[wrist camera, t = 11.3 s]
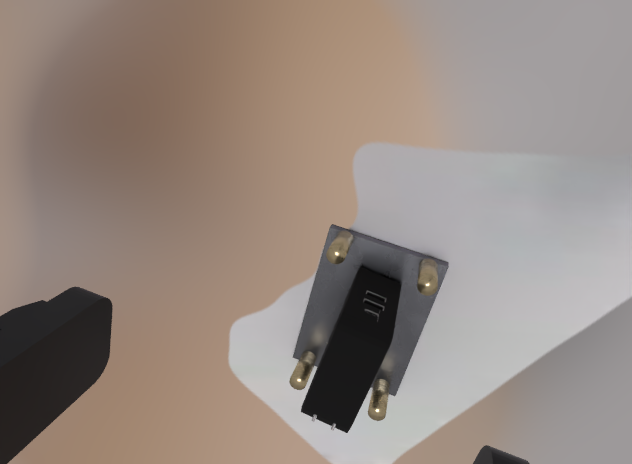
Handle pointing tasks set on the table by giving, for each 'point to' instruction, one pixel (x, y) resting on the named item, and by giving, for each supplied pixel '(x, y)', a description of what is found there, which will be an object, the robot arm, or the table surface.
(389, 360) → the chassis
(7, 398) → the robot arm
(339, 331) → the electronic device
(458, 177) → the table surface
